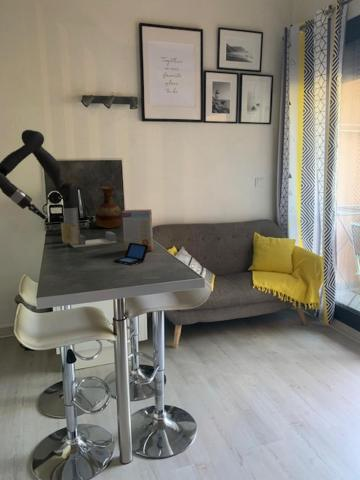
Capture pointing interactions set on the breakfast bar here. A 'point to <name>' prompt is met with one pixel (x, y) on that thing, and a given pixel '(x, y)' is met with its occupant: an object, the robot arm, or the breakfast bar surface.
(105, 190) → the brown vase
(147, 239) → the cracker box
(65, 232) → the brass block
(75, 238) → the sliding jaw
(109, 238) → the vise
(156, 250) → the breakfast bar surface
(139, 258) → the handheld game console
